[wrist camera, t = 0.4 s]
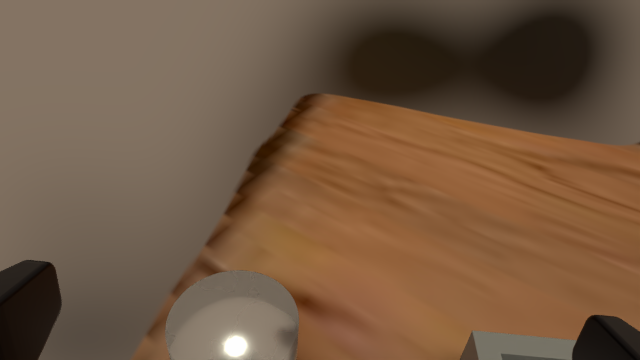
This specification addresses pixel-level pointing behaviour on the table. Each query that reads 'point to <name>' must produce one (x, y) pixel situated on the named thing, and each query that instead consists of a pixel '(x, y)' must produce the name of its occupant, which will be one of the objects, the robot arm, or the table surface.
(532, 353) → the tote
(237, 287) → the steel canister
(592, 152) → the table surface
